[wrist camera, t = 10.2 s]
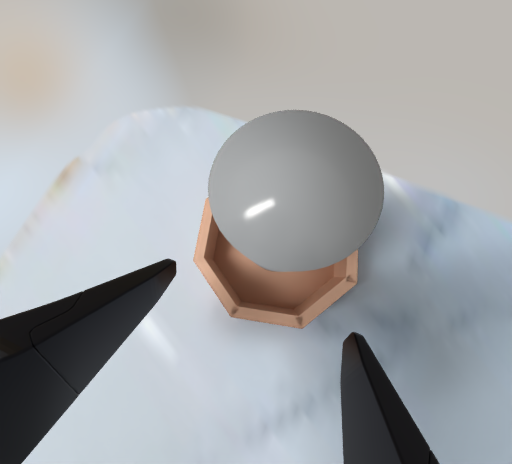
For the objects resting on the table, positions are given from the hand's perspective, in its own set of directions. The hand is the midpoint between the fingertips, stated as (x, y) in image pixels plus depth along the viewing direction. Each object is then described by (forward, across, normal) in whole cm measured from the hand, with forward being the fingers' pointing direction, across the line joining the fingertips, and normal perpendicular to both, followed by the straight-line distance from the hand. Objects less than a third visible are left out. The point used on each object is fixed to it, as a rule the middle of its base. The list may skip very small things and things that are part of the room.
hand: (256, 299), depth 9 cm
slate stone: (+8, 0, +3) cm, 9 cm away
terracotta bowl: (+9, 0, +3) cm, 10 cm away
